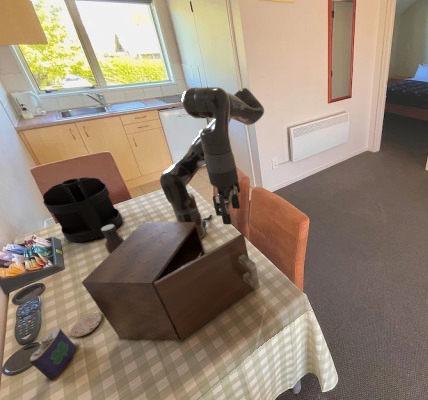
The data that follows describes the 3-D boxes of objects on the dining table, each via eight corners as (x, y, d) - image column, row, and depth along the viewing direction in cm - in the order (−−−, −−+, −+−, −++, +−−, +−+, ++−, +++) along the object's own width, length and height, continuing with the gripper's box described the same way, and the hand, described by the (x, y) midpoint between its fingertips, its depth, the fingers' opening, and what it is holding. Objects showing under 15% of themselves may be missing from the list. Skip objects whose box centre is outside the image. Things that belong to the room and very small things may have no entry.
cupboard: (212, 273, 101) (196, 222, 88) (179, 339, 78) (151, 283, 66) (165, 273, 101) (143, 222, 89) (119, 338, 79) (81, 282, 67)
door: (267, 298, 90) (257, 244, 78) (193, 356, 74) (166, 300, 62) (253, 286, 95) (242, 233, 83) (180, 338, 78) (153, 282, 66)
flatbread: (85, 339, 79) (84, 337, 78) (64, 335, 80) (63, 333, 79) (109, 315, 85) (107, 313, 85) (89, 312, 87) (87, 310, 86)
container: (71, 250, 113) (38, 200, 100) (62, 229, 127) (32, 182, 114) (129, 227, 127) (107, 180, 114) (116, 210, 140) (94, 166, 128)
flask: (69, 346, 77) (49, 323, 71) (80, 345, 77) (61, 322, 72) (45, 381, 69) (21, 358, 64) (58, 379, 69) (35, 356, 64)
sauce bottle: (128, 276, 100) (105, 234, 90) (114, 274, 101) (90, 232, 91) (141, 264, 106) (121, 223, 95) (128, 262, 107) (107, 221, 97)
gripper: (226, 177, 66) (237, 229, 74) (242, 156, 78) (250, 203, 86) (196, 177, 66) (211, 229, 74) (217, 156, 78) (227, 203, 87)
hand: (232, 215), depth 80 cm, fingers open, 8 cm apart
